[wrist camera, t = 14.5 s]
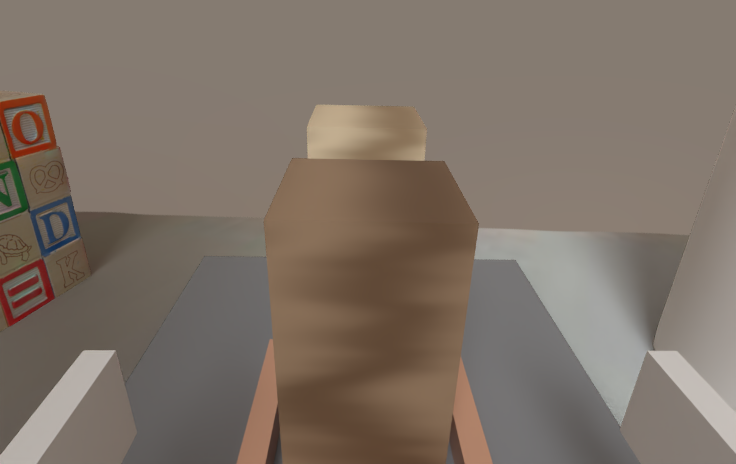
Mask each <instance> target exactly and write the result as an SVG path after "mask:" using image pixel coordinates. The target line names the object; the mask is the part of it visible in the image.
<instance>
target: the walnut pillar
mask: <svg viewBox="0 0 736 464" xmlns="http://www.w3.org/2000/svg"><path fill="white" fill-rule="evenodd" d="M478 226H479V223H478V221H477V219H476V218H475V216H474V214H473V212H472V210H471V209H470V207H469V205H468V203H467V201H466V199H465V198H464V196H463V194H462V192H461V191H460V189H459V187H458V185H457V183H456V181H455V180H454V178H453V176H452V174H451V172H450V171H449V169H448V167H447V165H446V164H445V162H444V161H411V160H359V159H306V158H304V159H303V158H292V160H291V162H290V164H289V166H288V169H287V171H286V173H285V175H284V177H283V180H282V181H281V184H280V186H279V188H278V190H277V192H276V195H275V197H274V199H273V201H272V203H271V205H270V208H269V210H268V212H267V214H266V216H265V219H264V230H265V243H266V256H267V269H268V281H269V294H270V307H271V320H272V333H273V346H274V359H275V372H276V385H277V398H278V411H279V424H280V437H281V450H282V463H283V464H446V459H447V451H448V444H449V437H450V430H451V422H452V415H453V408H454V401H455V393H456V386H457V379H458V372H459V364H460V357H461V350H462V343H463V335H464V328H465V321H466V314H467V306H468V299H469V292H470V285H471V277H472V270H473V263H474V255H475V248H476V241H477V234H478Z"/></svg>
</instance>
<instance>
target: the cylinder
mask: <svg viewBox="0 0 736 464" xmlns="http://www.w3.org/2000/svg"><path fill="white" fill-rule="evenodd" d="M653 347H654V350H655V351H678V352H679V354H680V355H681V356H682V357H683V358H684V359H685V360H686V361H687V362H688V363H689V364H690V365H691V366H692V367H693V368H694V369H695V370H696V371H697V373H698V374H699V375H700V376H701V377H702V378H703V379H704V380H705V381H706V382H707V383H708V384H709V385H710V386H711V387H712V388H713V389H714V390H715V392H716V393H717V394H718V395H719V396H720V397H721V398H722V399H723V400H724V401H725V402H726V403H727V404H728V405H729V406H730V407H731V408H732V409H733V411H734V412H735V413H736V106H735V109H734V112H733V114H732V117H731V120H730V123H729V126H728V128H727V132H726V134H725V137H724V140H723V142H722V146H721V149H720V151H719V154H718V157H717V159H716V162H715V165H714V168H713V171H712V174H711V177H710V179H709V182H708V185H707V188H706V191H705V194H704V196H703V199H702V202H701V205H700V208H699V210H698V213H697V216H696V219H695V222H694V225H693V228H692V230H691V233H690V236H689V239H688V242H687V244H686V247H685V250H684V253H683V256H682V259H681V261H680V264H679V267H678V270H677V273H676V276H675V278H674V281H673V284H672V287H671V290H670V293H669V295H668V298H667V301H666V304H665V307H664V310H663V312H662V315H661V318H660V321H659V324H658V327H657V331H656V335H655V338H654V342H653Z"/></svg>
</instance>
